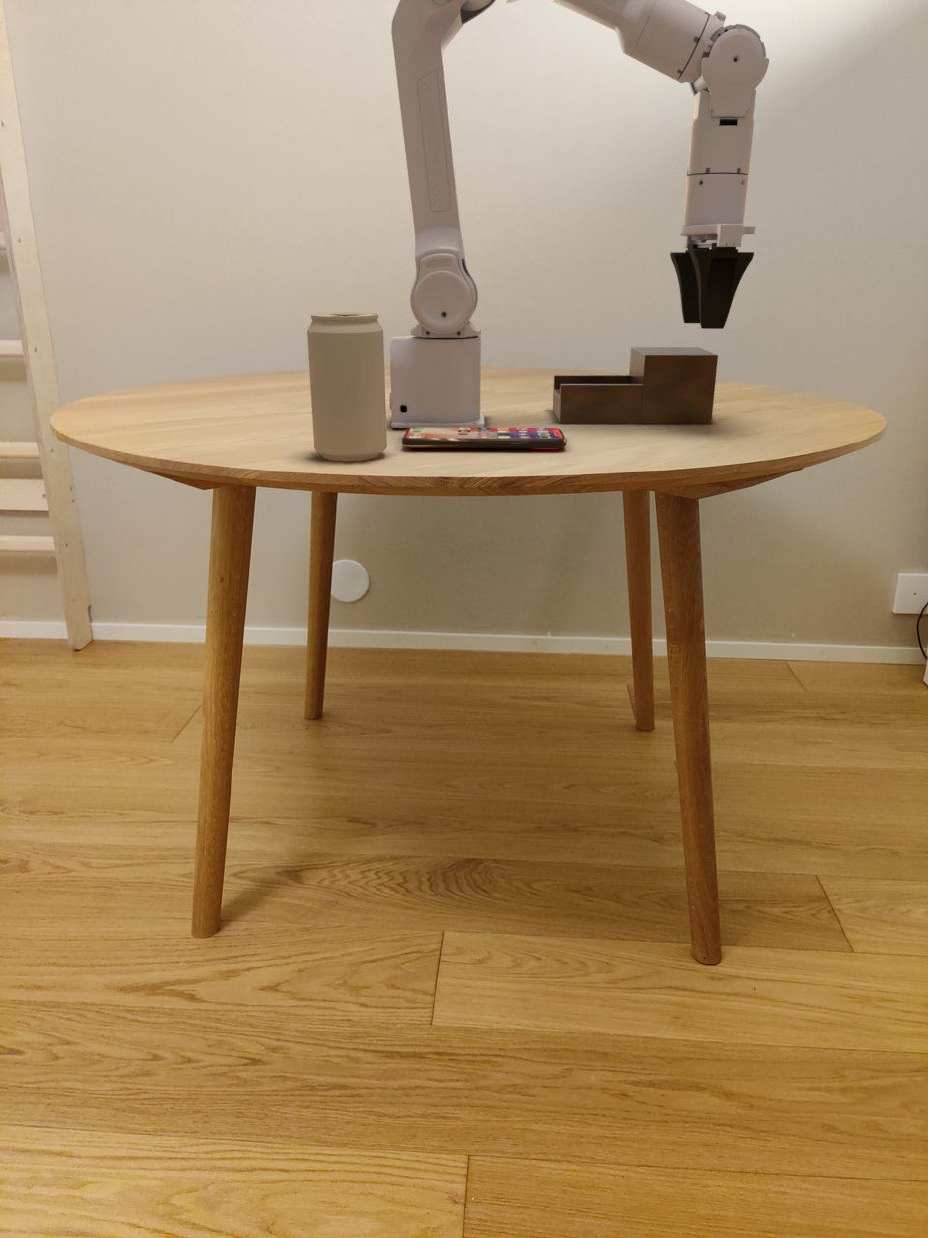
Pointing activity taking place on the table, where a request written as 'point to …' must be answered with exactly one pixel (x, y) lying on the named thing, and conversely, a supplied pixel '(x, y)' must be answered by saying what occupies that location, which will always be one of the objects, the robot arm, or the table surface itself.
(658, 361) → the wooden desk organizer
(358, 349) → the beverage can
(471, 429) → the smartphone
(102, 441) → the table surface
